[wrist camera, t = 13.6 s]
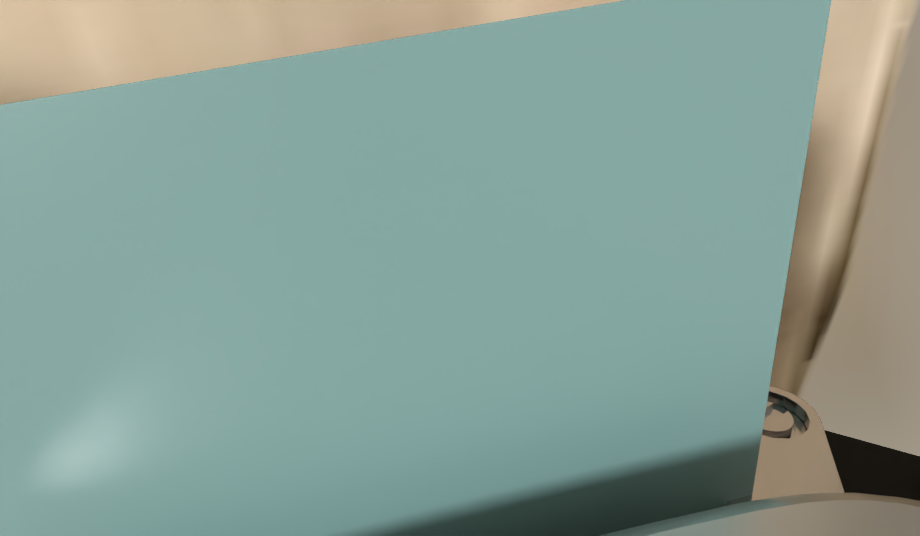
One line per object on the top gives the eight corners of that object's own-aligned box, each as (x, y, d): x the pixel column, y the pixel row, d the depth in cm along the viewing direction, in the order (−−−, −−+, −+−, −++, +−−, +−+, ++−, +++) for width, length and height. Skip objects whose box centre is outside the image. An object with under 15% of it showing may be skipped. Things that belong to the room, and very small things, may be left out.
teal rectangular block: (166, 90, 10) (-398, 171, 3) (525, 29, 10) (837, -36, 3) (334, 517, 15) (295, 907, 8) (562, 462, 16) (706, 784, 9)
